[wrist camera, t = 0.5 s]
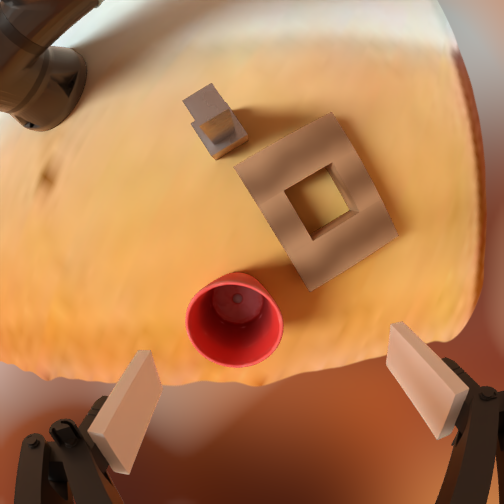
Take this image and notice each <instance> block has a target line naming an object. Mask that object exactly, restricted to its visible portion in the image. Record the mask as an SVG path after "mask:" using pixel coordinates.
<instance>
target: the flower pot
mask: <svg viewBox="0 0 504 504" xmlns="http://www.w3.org/2000/svg"><path fill="white" fill-rule="evenodd" d="M185 323H186V330H187V334H188V336H189V339H190V341H191V342H192V344H193V346H194V347H195V348H196V349H197V351H198V352H199V353H200V354H201V355H203V356H204V357H205V358H207V359H208V360H210V361H212V362H214V363H216V364H219V365H222V366H226V367H234V368H240V367H248V366H252V365H255V364H257V363H260V362H262V361H263V360H265V359H266V358H268V357H269V356H270V355H271V354H272V353H273V352H274V351H275V350H276V348H277V347H278V345H279V343H280V341H281V338H282V335H283V327H284V325H283V318H282V314H281V311H280V309H279V307H278V305H277V304H276V302H275V301H274V299H273V298H272V296H271V295H270V294H269V293H268V291H267V290H266V289H265V288H264V287H263V286H262V285H261V283H260V282H259V281H258V280H257V279H255V278H254V277H252V276H251V275H248V274H245V273H240V272H235V273H229V274H226V275H224V276H222V277H220V278H218V279H216V280H214V281H213V282H211V283H210V284H208V285H207V286H205V287H204V288H202V289H201V290H200V291H199V292H198V293H197V294H196V295H195V296H194V297H193V298H192V300H191V302H190V303H189V306H188V308H187V312H186V319H185Z"/></svg>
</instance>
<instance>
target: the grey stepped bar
mask: <svg viewBox="0 0 504 504" xmlns="http://www.w3.org/2000/svg"><path fill="white" fill-rule="evenodd" d="M183 103H184V104H185V106H186V107H187V109H188V110H189V112H190V113H191V115H192V116H193V118H194V119H195V121H194V122H192V123H191V125H192V127H193V128H194V130H195V131H196V133H197V134H198V136H199V137H200V139H201V141H202V142H203V144H204V145H205V147H206V148H207V150H208V151H209V153H210V155H211V156H212V157H213V158H214V159H215V160H217V159H219V158H220V157H222V156H223V155H225V154H227V153H228V152H230V151H231V150H233V149H235V148H236V147H238V146H240V145H241V144H243V143H245V142H246V141H248V134H247V133H246V131H245V130H244V128H243V127H242V125H241V124H240V122H239V121H238V119H237V118H236V116H235V115H234V113H233V112H232V110H231V109H230V107H229V106H228V104H227V103H226V102H224V100H223V99H222V97H221V96H220V94H219V93H218V91H217V90H216V89H215V87H214V86H213V84H212V83H211V84H209V85H207V86H206V87H204V88H202V89H201V90H199V91H197V92H196V93H194V94H192V95H191V96H189V97H188V98H186V99H184V100H183Z"/></svg>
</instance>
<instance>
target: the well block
mask: <svg viewBox="0 0 504 504" xmlns="http://www.w3.org/2000/svg"><path fill="white" fill-rule="evenodd" d="M323 167H326V169H327V170H328V172H329V174H330V175H331V177H332V179H333V181H334V182H335V184H336V186H337V188H338V190H339V191H340V193H341V195H342V197H343V199H344V200H345V202H346V204H347V206H348V208H349V211H348V212H346V213H345V214H343V215H341V216H340V217H338V218H336V219H335V220H333V221H331V222H330V223H328V224H327V225H325V226H323V227H322V228H320V229H318V230H317V231H315V232H313V233H312V234H310V235H309V233H308V232H307V230H306V228H305V226H304V225H303V223H302V221H301V220H300V218H299V216H298V214H297V213H296V211H295V209H294V208H293V206H292V204H291V203H290V201H289V199H288V198H287V196H286V194H285V193H284V190H286V189H287V188H289V187H291V186H292V185H294V184H296V183H298V182H299V181H301V180H303V179H304V178H306V177H308V176H310V175H311V174H313V173H315V172H316V171H318V170H320V169H322V168H323ZM234 169H235V170H236V172H237V173H238V175H239V177H240V178H241V180H242V181H243V183H244V184H245V186H246V188H247V189H248V191H249V192H250V194H251V196H252V197H253V199H254V201H255V202H256V204H257V205H258V207H259V209H260V210H261V212H262V213H263V215H264V217H265V218H266V220H267V222H268V223H269V225H270V227H271V228H272V230H273V231H274V233H275V235H276V236H277V238H278V240H279V241H280V243H281V245H282V246H283V248H284V250H285V251H286V253H287V255H288V256H289V258H290V260H291V261H292V263H293V265H294V266H295V268H296V270H297V272H298V273H299V275H300V277H301V278H302V280H303V282H304V283H305V285H306V287H307V289H308V290H309V292H311V291H313V290H314V289H316V288H318V287H319V286H321V285H323V284H324V283H326V282H328V281H329V280H331V279H333V278H334V277H336V276H337V275H339V274H341V273H342V272H344V271H346V270H347V269H349V268H350V267H352V266H353V265H355V264H357V263H358V262H360V261H361V260H363V259H364V258H366V257H368V256H369V255H371V254H372V253H374V252H375V251H377V250H378V249H380V248H381V247H383V246H384V245H386V244H387V243H389V242H390V241H392V240H393V239H395V238H396V237H398V236H399V235H398V233H397V231H396V229H395V226H394V224H393V222H392V220H391V218H390V216H389V213H388V211H387V209H386V207H385V205H384V203H383V201H382V199H381V197H380V195H379V193H378V191H377V189H376V187H375V185H374V183H373V181H372V179H371V178H370V176H369V174H368V172H367V170H366V168H365V166H364V165H363V163H362V161H361V159H360V157H359V156H358V154H357V152H356V150H355V149H354V147H353V145H352V144H351V142H350V140H349V139H348V137H347V135H346V134H345V132H344V130H343V129H342V127H341V126H340V124H339V122H338V121H337V119H336V118H335V116H334V115H333V113H332V112H330V113H328V114H326V115H324V116H322V117H320V118H318V119H317V120H315V121H313V122H311V123H309V124H307V125H305V126H303V127H301V128H300V129H298V130H296V131H294V132H292V133H290V134H289V135H287V136H285V137H283V138H281V139H280V140H278V141H276V142H274V143H273V144H271V145H269V146H267V147H266V148H264V149H262V150H261V151H259V152H257V153H255V154H254V155H252V156H250V157H249V158H247V159H245V160H244V161H242V162H240V163H239V164H237V165H236V166H234Z"/></svg>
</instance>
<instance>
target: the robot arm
mask: <svg viewBox="0 0 504 504" xmlns="http://www.w3.org/2000/svg"><path fill="white" fill-rule="evenodd" d="M103 1H104V0H1V2H0V111H1V112H5V113H9V114H10V115H11V116H12V117H14V118H15V119H16V120H17V121H18V122H19V123H20V124H21V125H22V126H24V127H25V128H27V129H30V130H34V131H46V130H49V129H52V128H53V127H55V126H57V125H58V124H59V123H61V122H62V121H63V120H64V119H65V118H66V117H67V116H68V115H69V114H70V112H71V111H72V110H73V108H74V107H75V105H76V104H77V102H78V100H79V98H80V96H81V94H82V91H83V89H84V85H85V82H86V75H87V69H86V63H85V61H84V59H83V57H82V56H81V55H80V54H78V53H77V52H75V51H74V50H72V49H70V48H65V47H56V46H51V45H52V44H53V43H54V42H55V41H56V40H57V39H58V38H59V37H60V36H61V35H62V34H64V33H65V32H66V31H67V30H68V29H69V28H70V27H71V26H73V25H74V24H75V23H76V22H77V21H79V20H80V19H81V18H82V17H83V16H85V15H86V14H87V13H89V12H90V11H91V10H92V9H94V8H97V7H99V6H100V5H101V3H102V2H103ZM386 365H387V367H388V368H389V370H390V371H391V373H392V374H393V375H394V377H395V378H396V380H397V381H398V382H399V384H400V385H401V387H402V388H403V389H404V391H405V393H406V394H407V395H408V397H409V398H410V400H411V401H412V403H413V404H414V406H415V407H416V409H417V410H418V412H419V413H420V414H421V416H422V418H423V419H424V421H425V422H426V424H427V425H428V426H429V428H430V430H431V431H432V433H433V434H434V436H435V437H436V439H437V440H438V439H441V438H443V437H445V436H447V435H450V434H451V432H452V430H453V428H454V426H456V427H457V428H458V432H457V435H456V437H455V439H454V441H453V443H452V446H453V445H454V446H453V451H452V454H451V458H450V461H449V465H448V468H447V472H446V475H445V478H444V481H443V484H442V486H441V489H440V492H439V495H438V498H437V500H436V503H435V504H486V502H487V498H488V494H489V490H490V485H491V480H492V474H493V468H494V462H495V455H496V461H497V471H498V484H499V504H504V391H501V392H497V391H496V390H495V389H494V388H492V387H488V386H482V387H480V386H479V385H478V384H477V383H476V382H475V381H474V380H473V379H472V378H471V377H470V376H469V375H468V374H467V373H466V372H464V370H463V369H462V368H460V366H458V364H457V363H455V361H453V360H451V359H449V358H446V357H445V358H442V359H440V358H439V357H438V356H437V355H436V354H435V353H434V352H433V351H432V350H431V349H430V348H429V347H428V346H427V345H426V344H425V343H424V342H423V341H422V340H421V339H420V338H419V337H418V336H417V335H416V334H415V333H414V332H413V331H412V330H411V329H410V328H409V327H408V326H407V325H405V324H404V323H403V322H398V323H393V324H391V325H390V336H389V345H388V353H387V361H386ZM162 390H163V388H162V385H161V382H160V379H159V376H158V373H157V370H156V366H155V363H154V360H153V357H152V353H151V350H138V351H137V353H136V354H135V356H134V358H133V359H132V361H131V362H130V364H129V365H128V367H127V368H126V370H125V371H124V373H123V374H122V376H121V378H120V379H119V381H118V382H117V384H116V385H115V387H114V389H113V390H112V392H111V393H110V395H109V396H102V397H101V398H100V399H98V400H97V401H96V402H95V403H94V405H93V407H92V408H91V410H90V411H89V412H88V415H86V417H85V419H84V420H83V422H82V423H81V425H80V426H79V428H77V426H76V424H75V423H74V422H73V421H72V420H70V419H60V420H58V421H56V422H55V423H53V424H52V425H51V427H50V429H49V433H50V434H51V436H52V437H53V439H54V440H55V442H46V440H45V438H44V437H43V436H42V435H40V434H36V433H34V434H30V435H28V436H27V437H26V438H25V439H24V440H23V442H22V447H21V452H20V458H19V464H18V470H17V478H16V487H15V497H14V504H74V502H73V496H74V499H75V502H76V504H124V502H123V500H122V498H121V496H120V495H119V493H118V491H117V489H116V487H115V485H114V483H113V482H112V479H111V478H110V475H109V474H108V472H107V471H106V469H107V467H108V465H110V467H111V468H112V469H113V471H114V472H118V473H123V474H130V471H131V468H132V466H133V463H134V460H135V458H136V455H137V452H138V450H139V448H140V445H141V442H142V440H143V437H144V435H145V432H146V430H147V427H148V425H149V422H150V420H151V417H152V415H153V412H154V410H155V407H156V405H157V402H158V400H159V398H160V395H161V393H162Z"/></svg>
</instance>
